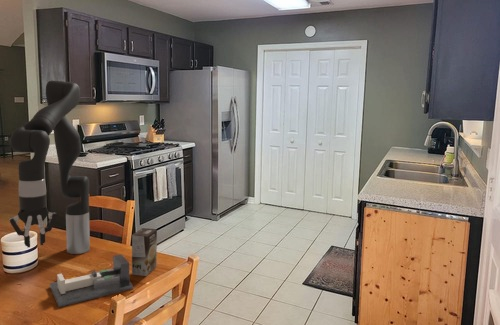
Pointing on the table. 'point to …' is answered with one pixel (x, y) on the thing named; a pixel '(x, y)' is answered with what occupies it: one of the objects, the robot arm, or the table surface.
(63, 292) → the plunger
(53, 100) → the robot arm
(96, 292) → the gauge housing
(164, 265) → the table surface
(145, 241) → the coffee box
